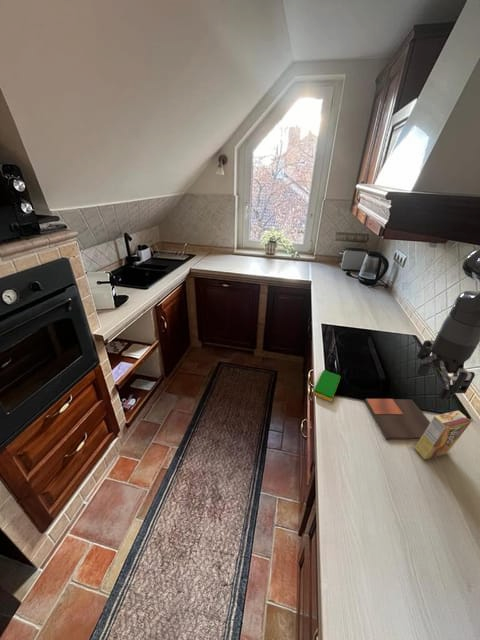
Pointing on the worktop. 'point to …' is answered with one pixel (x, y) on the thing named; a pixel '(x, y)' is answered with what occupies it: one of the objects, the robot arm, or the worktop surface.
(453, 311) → the robot arm
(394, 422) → the board
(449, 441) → the candy box
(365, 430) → the worktop surface
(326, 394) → the dish sponge
